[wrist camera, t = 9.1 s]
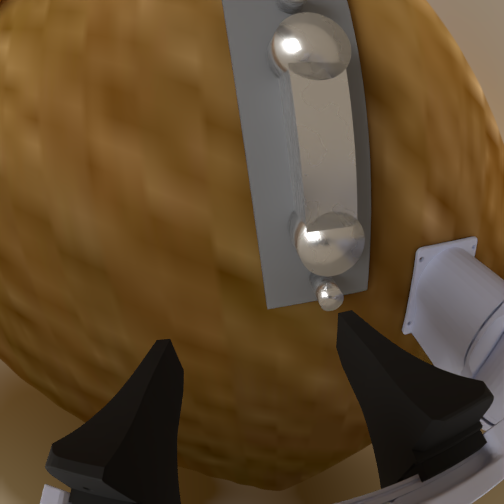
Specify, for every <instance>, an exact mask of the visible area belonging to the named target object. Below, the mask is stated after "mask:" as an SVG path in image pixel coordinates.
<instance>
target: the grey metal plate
mask: <svg viewBox="0 0 504 504" xmlns="http://www.w3.org/2000/svg"><path fill="white" fill-rule="evenodd" d="M222 4H223V10H224V16H225V23H226V29H227V35H228V42H229V48H230V55H231V61H232V68H233V74H234V81H235V87H236V94H237V101H238V107H239V114H240V121H241V127H242V134H243V141H244V148H245V154H246V161H247V168H248V175H249V182H250V189H251V196H252V203H253V210H254V217H255V224H256V231H257V238H258V245H259V252H260V260H261V267H262V274H263V281H264V289H265V296H266V303H267V307H268V309H271V308H277V307H283V306H289V305H294V304H300V303H306V302H311V301H316V300H318V302H319V304H320V306H321V308H322V309H323V310H326V311H332V310H335V309H337V308H338V307H340V306H341V304H342V303H343V299H344V297H343V295H347V294H351V293H356V292H361V291H365V290H367V286H368V274H369V258H370V236H371V170H370V149H369V134H368V122H367V111H366V102H365V94H364V86H363V79H362V72H361V66H360V59H359V54H358V48H357V43H356V38H355V33H354V28H353V23H352V19H351V15H350V11H349V6H348V3H347V0H222ZM303 12H310V13H317V14H320V15H323V16H326V17H328V18H330V19H331V20H333V21H334V22H336V23H337V24H338V25H339V26H340V27H341V28H342V29H343V30H344V32H345V33H346V35H347V37H348V39H349V41H350V45H351V59H350V62H349V64H348V66H347V68H346V72H347V79H348V86H349V93H350V101H351V110H352V120H353V131H354V143H355V158H356V178H357V220H358V221H359V223H360V224H361V226H362V228H363V231H364V236H365V243H364V248H363V251H362V254H361V256H360V258H359V259H358V261H357V262H356V263H355V264H354V265H353V266H352V267H351V268H350V269H348V270H347V271H345V272H343V273H341V274H339V275H335V276H319V275H316V274H314V273H312V272H310V271H309V270H308V269H307V268H306V267H305V266H304V264H303V263H302V261H301V259H300V257H299V255H298V253H297V251H296V249H295V247H294V245H293V243H292V241H291V239H290V237H289V233H288V222H289V219H290V216H291V214H292V212H293V211H294V206H293V195H292V185H291V176H290V167H289V158H288V149H287V141H286V132H285V125H284V117H283V109H282V102H281V95H280V88H279V81H278V78H277V77H276V76H275V75H274V74H273V73H272V71H271V70H270V68H269V66H268V63H267V58H266V52H267V48H268V45H269V43H270V41H271V39H272V37H273V36H274V34H275V32H276V30H277V28H278V26H279V25H280V24H281V23H282V21H284V20H285V19H286V18H288V17H289V16H291V15H294V14H297V13H303Z"/></svg>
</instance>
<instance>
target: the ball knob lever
mask: <svg viewBox="0 0 504 504" xmlns="http://www.w3.org/2000/svg"><path fill="white" fill-rule="evenodd" d="M266 58H267V63H268V66H269V68H270V70H271V71H272V73H273V74H274V75H275V76H276V77H277V78H278V81H279V88H280V95H281V102H282V109H283V117H284V125H285V132H286V141H287V149H288V158H289V167H290V176H291V185H292V195H293V206H294V211H293V212H292V214H291V216H290V219H289V222H288V233H289V237H290V239H291V241H292V243H293V245H294V247H295V249H296V251H297V253H298V255H299V257H300V259H301V261H302V263H303V264H304V266H305V267H306V268H307V269H308V270H309V271H310V272H312V273H314V274H316V275H319V276H335V275H339V274H341V273H343V272H345V271H347V270H348V269H350V268H351V267H352V266H353V265H354V264H355V263H356V262H357V261H358V259H359V258H360V256H361V254H362V251H363V248H364V243H365V236H364V231H363V228H362V226H361V224H360V223H359V221H358V220H357V178H356V158H355V143H354V131H353V120H352V110H351V101H350V93H349V86H348V79H347V72H346V68H347V66H348V64H349V62H350V59H351V45H350V41H349V39H348V37H347V35H346V33H345V32H344V30H343V29H342V28H341V27H340V26H339V25H338V24H337V23H336V22H334V21H333V20H331V19H330V18H328V17H326V16H323V15H320V14H317V13H310V12H303V13H297V14H294V15H291V16H289V17H288V18H286V19H285V20H284V21H282V23H281V24H280V25H279V26H278V28H277V30H276V32H275V34H274V36H273V37H272V39H271V41H270V43H269V45H268V48H267V52H266Z"/></svg>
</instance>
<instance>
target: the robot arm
mask: <svg viewBox="0 0 504 504" xmlns="http://www.w3.org/2000/svg"><path fill="white" fill-rule="evenodd" d="M476 246H477V238H476V237H474V236H473V237H468V238H464V239H459V240H454V241H449V242H445V243H440V244H435V245H430V246H425V247H420V248H419V249H418V250H417V251H416V257H415V264H414V271H413V277H412V283H411V289H410V295H409V300H408V305H407V310H406V315H405V319H404V324H403V328H402V332H403V334H409V333H412V334H413V336H414V337H415V338H416V340H417V341H418V343H419V344H420V345H421V347H422V348H423V350H424V351H425V353H426V354H427V355H428V357H429V358H430V360H431V361H432V363H433V364H434V366H433V365H431V364H428V363H426V362H424V361H422V360H420V359H418V358H417V357H415V356H413V355H411V354H409V353H408V352H406V351H404V350H403V349H401V348H400V347H398V346H397V345H395V344H394V343H392V342H391V341H390V340H388V339H387V338H386V337H384V336H383V335H382V334H380V333H379V332H378V331H376V330H375V329H374V328H373V327H371V326H370V325H369V324H368V323H367V322H365V321H364V320H363V319H362V318H360V317H359V316H358V315H357V314H356V313H354V312H353V311H352V310H351V311H346V312H342V313H338V330H337V345H336V348H337V351H338V354H339V357H340V360H341V364H342V367H343V369H344V371H345V373H346V375H347V378H348V380H349V382H350V384H351V386H352V388H353V390H354V393H355V395H356V397H357V399H358V401H359V404H360V406H361V408H362V411H363V414H364V417H365V420H366V423H367V427H368V430H369V434H370V437H371V441H372V445H373V449H374V453H375V458H376V462H377V467H378V473H379V478H380V485H381V489H380V490H377V491H375V492H372V493H368V494H366V495H362V496H359V497H356V498H353V499H349V500H346V501H342V502H338V503H334V504H389V503H390V504H472V503H473V502H474V501H476V500H477V499H479V498H480V497H482V496H483V495H484V494H486V493H487V492H488V491H489V490H491V489H492V488H493V487H495V486H496V485H497V484H498V483H499V482H501V481H502V480H503V479H504V280H503V279H502V278H500V277H499V276H498V275H497V274H495V273H494V272H493V271H492V270H490V269H489V268H488V267H487V266H485V265H484V264H483V263H481V262H480V261H479V260H477V259H476V258H475V257H474V256H475V251H476ZM421 257H422V258H421ZM420 258H421V259H420ZM183 383H184V370H183V368H182V366H181V363H180V361H179V359H178V357H177V354H176V352H175V350H174V347H173V345H172V342H171V340H170V339H164V340H157V341H156V342H155V344H154V345H153V346H152V348H151V349H150V351H149V352H148V354H147V355H146V356H145V358H144V359H143V361H142V362H141V364H140V365H139V366H138V368H137V369H136V370H135V372H134V373H133V375H132V376H131V377H130V378H129V380H128V381H127V382H126V383H125V385H124V386H123V387H122V388H121V390H120V391H119V392H118V393H117V394H116V395H115V396H114V398H113V399H112V400H111V401H110V402H109V403H108V404H107V405H106V406H105V407H104V408H102V409H101V410H100V411H99V412H98V413H97V414H96V415H94V416H93V417H92V418H91V419H90V420H89V421H87V422H86V423H85V424H83V425H82V426H81V427H79V428H78V429H76V430H75V431H73V432H72V433H70V434H69V435H67V436H65V437H64V438H62V439H60V440H58V441H57V442H55V443H53V444H52V446H51V450H50V453H49V456H48V459H47V462H46V466H45V468H46V470H47V471H48V472H49V473H50V474H51V475H52V476H54V477H55V478H57V479H58V480H60V481H61V482H63V483H64V484H66V485H67V486H69V487H70V488H71V493H69V492H66V491H64V490H62V489H59V488H56V487H53V486H50V485H48V484H45V485H44V490H43V493H42V498H41V502H40V504H181V502H180V494H179V484H178V469H177V433H178V425H179V418H180V411H181V404H182V397H183ZM480 429H483V430H485V431H486V432H485V433H484V434H482V432H481V431H480Z"/></svg>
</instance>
